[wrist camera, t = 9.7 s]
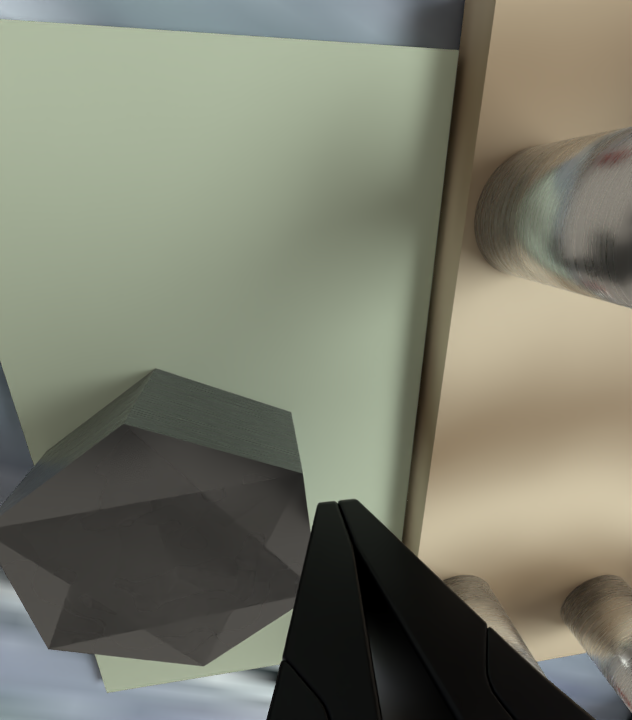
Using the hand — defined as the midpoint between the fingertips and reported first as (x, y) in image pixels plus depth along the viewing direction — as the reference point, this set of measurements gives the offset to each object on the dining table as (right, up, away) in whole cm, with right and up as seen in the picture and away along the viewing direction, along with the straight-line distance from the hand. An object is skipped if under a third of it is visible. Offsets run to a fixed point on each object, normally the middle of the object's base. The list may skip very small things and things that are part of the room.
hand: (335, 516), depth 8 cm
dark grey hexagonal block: (-4, 0, +2) cm, 4 cm away
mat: (-3, +1, +2) cm, 4 cm away
